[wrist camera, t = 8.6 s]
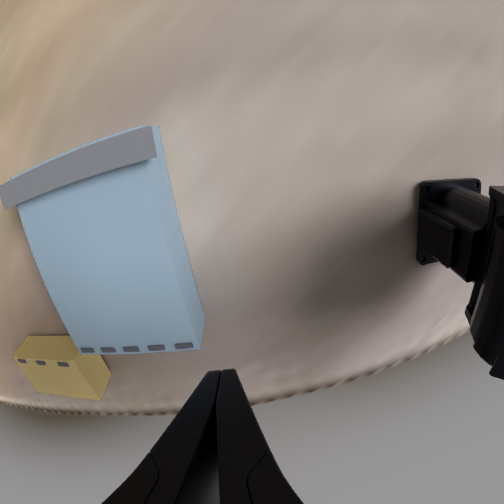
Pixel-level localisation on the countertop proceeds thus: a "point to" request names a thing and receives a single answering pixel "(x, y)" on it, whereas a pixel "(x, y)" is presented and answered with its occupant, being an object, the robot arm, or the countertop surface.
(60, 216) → the ticket
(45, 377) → the stub
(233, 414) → the robot arm
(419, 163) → the countertop surface
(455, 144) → the countertop surface
